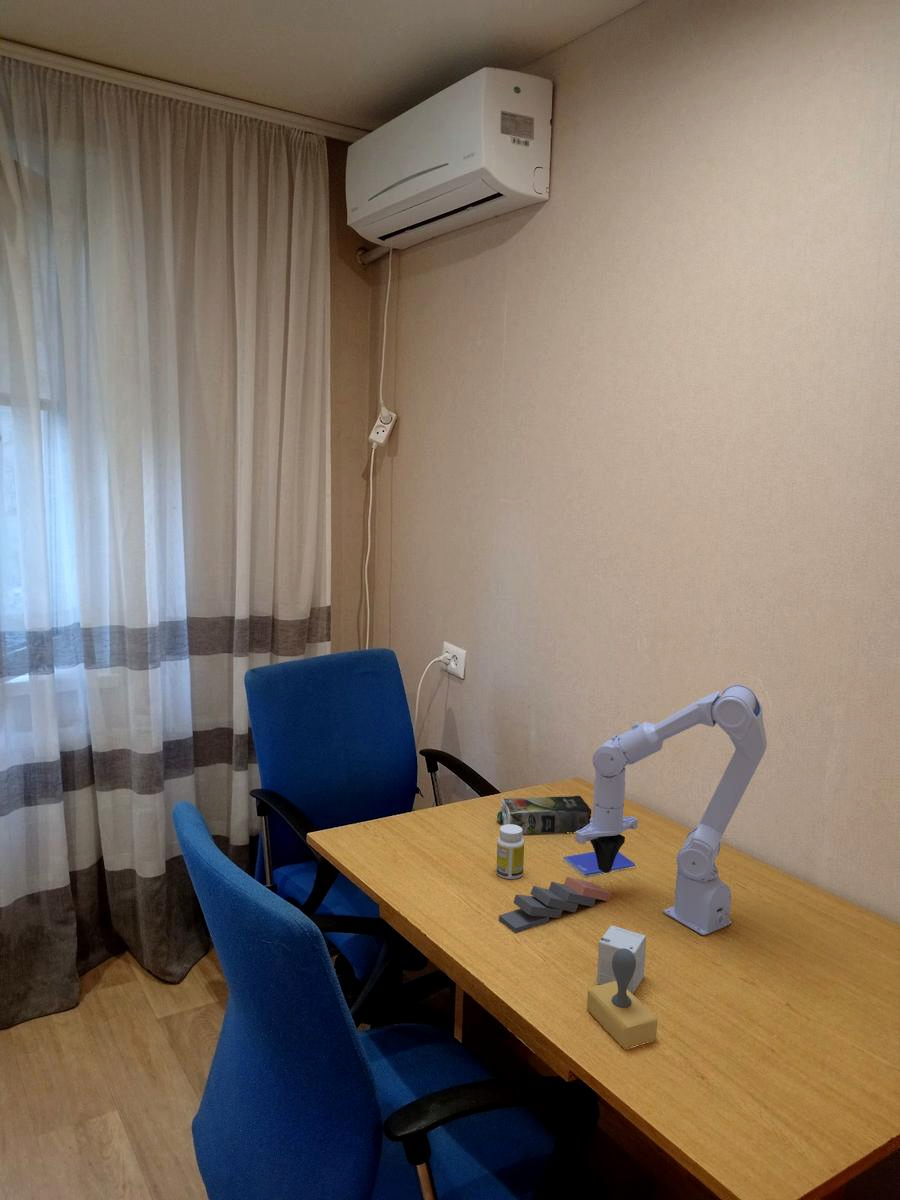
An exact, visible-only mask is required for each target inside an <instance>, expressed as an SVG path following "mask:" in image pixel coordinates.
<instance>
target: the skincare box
mask: <svg viewBox="0 0 900 1200" xmlns="http://www.w3.org/2000/svg"><path fill="white" fill-rule="evenodd" d="M646 943H647V935H645V934H641V933H638V932H635V931H631V930H628V929H625V928H622V927H618V926H615V925H610V926H609V928H608V929H607V931H606V932H605V933H604V934H603V936H601V938H600V939H599V940H598V953H597V955H598V956H597V977H596V979H597V982H596V983H597V984H598V985H602V984H606V983H609V982H613V981H616V978H615V975H614V972H613V969H612V959H613V956H614V954H615V952H616V951H617V950H619V949H621V948H625V949H628V950H630V951H631V952H632V953H633V955H634V956H635V959H636V968H635V971H634V974H633V977H632V979H631V981H630V982H629V984H628V987H627V990H629V991H630V992H631V993H632V994H633V995H634V993H635V992H636V990H637V988H638V987H639V985H640V984H641V983H642V980H643V979H644V978H645V965H646V964H645V963H646V949H647V948H646V946H647V944H646Z"/></svg>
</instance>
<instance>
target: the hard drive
mask: <svg viewBox="0 0 900 1200" xmlns="http://www.w3.org/2000/svg"><path fill="white" fill-rule="evenodd" d="M562 859H563V862H564V861H565V863H566V864H567V865H568V866H569V867H570V868H572V869H573V870H574V871H575V872H576V873H578V874H579V875H580V876H582V877H583V878H584V879H586V877H587V878H592V877H596V876H595V875H597V876H601V875H600V874H602V875H605V874H604V872H603V871H601V870H599V868H598V863H597V858H596V854H595V851H591V852H585V853H579V854H573V855H568V856H563V858H562ZM633 866H635V867H636V864H635V863H634V862H633V861H632V860H630V859H629V857H627V856H625V855H624V854H622V853H621V852H619V851H618V853H617V855H616V857H615V860H614V863H613V866H612V869H611V872H612V871H617V870H622V869H626V868H629V867H633ZM622 871H623V870H622ZM617 872H618V871H617ZM612 873H613V872H612ZM607 874H611V873H610V872H608V873H607ZM591 876H592V877H591Z"/></svg>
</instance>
